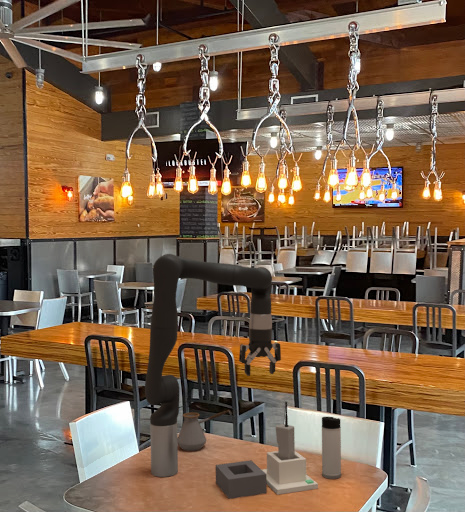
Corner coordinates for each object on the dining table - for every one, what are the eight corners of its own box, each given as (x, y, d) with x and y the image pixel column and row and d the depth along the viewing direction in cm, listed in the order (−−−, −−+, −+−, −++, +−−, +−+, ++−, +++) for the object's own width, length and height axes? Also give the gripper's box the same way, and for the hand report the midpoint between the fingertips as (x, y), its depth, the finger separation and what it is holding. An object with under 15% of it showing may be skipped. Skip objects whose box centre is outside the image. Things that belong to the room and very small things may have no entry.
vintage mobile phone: (282, 473, 206) (281, 398, 205) (295, 476, 203) (294, 401, 202) (276, 477, 203) (275, 401, 202) (289, 480, 200) (288, 403, 199)
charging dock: (256, 474, 209) (256, 449, 209) (294, 469, 214) (294, 444, 213) (277, 494, 192) (277, 467, 192) (317, 488, 197) (317, 461, 196)
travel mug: (317, 476, 207) (317, 417, 206) (329, 471, 212) (328, 413, 211) (333, 481, 202) (333, 420, 202) (344, 475, 207) (344, 416, 207)
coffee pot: (173, 452, 233) (173, 412, 233) (180, 442, 244) (179, 404, 244) (229, 453, 230) (229, 413, 230) (233, 444, 242) (233, 406, 242)
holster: (215, 483, 202) (215, 464, 202) (251, 478, 206) (251, 460, 206) (228, 498, 189) (228, 479, 189) (266, 493, 193) (266, 474, 193)
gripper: (275, 324, 213) (274, 370, 214) (236, 325, 208) (236, 373, 209) (284, 327, 206) (283, 375, 207) (244, 329, 201) (244, 378, 202)
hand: (259, 374), depth 208 cm, fingers open, 8 cm apart
